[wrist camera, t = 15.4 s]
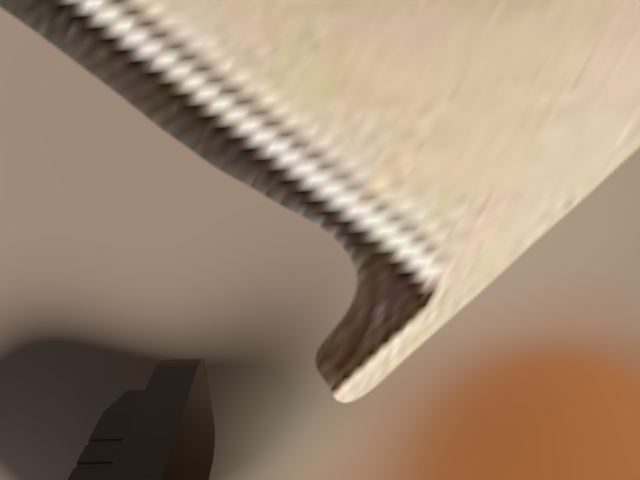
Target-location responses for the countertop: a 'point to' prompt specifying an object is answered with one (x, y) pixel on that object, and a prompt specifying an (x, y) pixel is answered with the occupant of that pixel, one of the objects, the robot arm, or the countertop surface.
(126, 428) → the robot arm
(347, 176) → the countertop surface
